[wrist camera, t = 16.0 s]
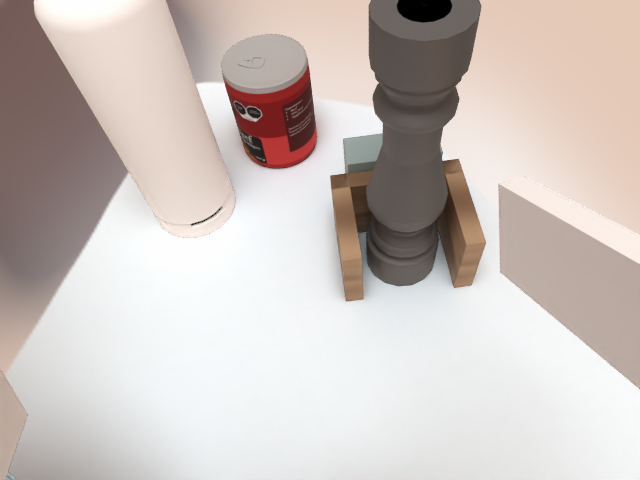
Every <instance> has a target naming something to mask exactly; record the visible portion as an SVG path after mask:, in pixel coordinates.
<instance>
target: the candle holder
mask: <svg viewBox="0 0 640 480" xmlns="http://www.w3.org/2000/svg"><path fill="white" fill-rule="evenodd" d="M480 11H481V4H480V1H479V0H371V2H370V4H369V59H370V65H371V69H372V70H373V71H374V72H375V78H376V80H377V81H378V82H379V84H378V85H377V87H376V89H375V92H374V94H373V104H374V110H375V114H376V115H377V116H378V117H379V119H380V120H381V121H382V122H383V141H382V146H381V149H380V152H379V155H378V158H377V160H376V163H375V166H374V169H373V171H372V174H371V177H370V179H369V182H368V185H367V188H366V195H367V202H368V207H369V209H370V211H371V212H372V213H373V215H372V218H371V221H370V223H369V228H368V231H367V233H366V254H367V262H368V266H369V267H370V269H371V271H372V272H373V274H374V275H375V276H376V277H378V278H379V279H381V280H382V281H383V282H385V283H388V284H392V285H396V286H405V285H413V284H415V283H417V282H419V281H421V280H423V279H424V278H425V277H426V276H427V275H428V274H429V273H430V271H431V270H432V267H433V264H434V260H435V255H436V251H437V246H438V241H439V238H438V233H437V231H438V228H437V224H436V219H437V218H438V217H439V215H440V214H441V213H442V212H443V210H444V207H445V203H446V199H447V195H448V191H447V186H446V180H445V175H444V169H443V162H442V156H441V150H440V143H441V136H442V130H443V127H444V126H445V125H446V124H447V123H448V122H449V121H450V120H451V119H452V118H453V117H454V115H455V113H456V109H457V106H458V103H459V96H458V93H457V89H456V87H455V86H456V85H457V84H458V83H459V82H460V81H461V78H462V76H463V75H464V74H465V73H466V72H467V71H468V67H469V64H470V61H471V57H472V52H473V47H474V42H475V37H476V31H477V27H478V21H479V16H480Z"/></svg>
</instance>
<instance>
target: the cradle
mask: <svg viewBox="0 0 640 480" xmlns="http://www.w3.org/2000/svg"><path fill="white" fill-rule="evenodd" d="M442 162H443V169H444V175H445V180H446V186H447V191H448V195H447V199H446V203H445V207H444V210H443V212H442V213H441V214H440V215H439V217H438V218H437V219H436V223H437V226H438V230H439V234H440V237H441V241H442V245H443V248H444V252H445V256H446V260H447V263H448V267H449V271H450V274H451V278H452V282H453V285H454V288H455V287H463V286H471V285H472V282H473V279H474V276H475V273H476V270H477V267H478V264H479V262H480V259H481V256H482V253H483V250H484V247H485V244H486V241H485V238H484V235H483V232H482V228H481V225H480V222H479V219H478V216H477V213H476V210H475V207H474V204H473V201H472V198H471V195H470V192H469V189H468V186H467V183H466V179H465V176H464V173H463V170H462V167H461V164H460V161H459V159H455V160H447V161H442ZM372 171H373V170H370V171H362V172H355V173H347V174H339V175H332V176H330V178H331V188H332V198H333V208H334V217H335V226H336V233H337V240H338V247H339V254H340V261H341V269H342V276H343V283H344V290H345V297H346V301H353V300H361V299H363V277H362V256H361V250H360V244H359V238H358V232H366V231H368V228H369V223H370V221H371V218H372V215H373V213H372V212H371V211H370V209H369V207H368V202H367V195H366V188H367V185H368V182H369V179H370V177H371V174H372Z"/></svg>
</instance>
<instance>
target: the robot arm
mask: <svg viewBox="0 0 640 480" xmlns="http://www.w3.org/2000/svg"><path fill="white" fill-rule="evenodd" d="M498 185H499V238H500V272H501V273H502V274H503V275H504V276H505V277H506V278H508V279H509V280H510V281H511V282H512V283H514V284H515V285H516V286H517V287H518V288H520V289H521V290H522V291H523V292H524V293H526V294H527V295H528V296H529V297H530V298H532V299H533V300H534V301H535V302H536V303H538V304H539V305H540V306H541V307H542V308H543V309H545V310H546V311H547V312H548V313H549V314H551V315H552V316H553V317H554V318H555V319H557V320H558V321H559V322H560V323H561V324H563V325H564V326H565V327H566V328H567V329H569V330H570V331H571V332H572V333H573V334H575V335H576V336H577V337H578V338H579V339H580V340H582V341H583V342H584V343H585V344H586V345H588V346H589V347H590V348H591V349H592V350H594V351H595V352H596V353H597V354H598V355H600V356H601V357H602V358H603V359H604V360H606V361H607V362H608V363H609V364H610V365H611V366H613V367H614V368H615V369H616V370H617V371H619V372H620V373H621V374H622V375H623V376H625V377H626V378H627V379H628V380H629V381H631V382H632V383H633V384H634V385H635V386H637V387H638V388H639V389H640V235H638V234H637V233H635V232H633V231H631V230H629V229H627V228H625V227H623V226H621V225H619V224H617V223H615V222H613V221H611V220H609V219H607V218H605V217H603V216H601V215H599V214H597V213H595V212H594V211H592V210H590V209H588V208H585V207H584V206H582V205H580V204H578V203H576V202H574V201H572V200H570V199H568V198H566V197H564V196H562V195H560V194H558V193H556V192H554V191H552V190H550V189H548V188H546V187H544V186H542V185H540V184H538V183H536V182H534V181H532V180H530V179H528V178H526V177H521V178H517V179H514V180H510V181H507V182H503V183H499V184H498ZM27 416H28V414H27V413H26V411H25V409H24V407H23V406H22V404H21V402H20V401H19V399H18V397H17V396H16V394H15V392H14V391H13V389H12V387H11V386H10V384H9V382H8V380H7V379H6V377H5V375H4V374H3V372H2V370H1V369H0V480H17V479H16V478H15V477H14V476H13V475H11V474H10V473H9V472H8V470H9V467H10V464H11V462H12V459H13V456H14V453H15V450H16V447H17V445H18V442H19V439H20V436H21V433H22V430H23V427H24V425H25V422H26V419H27Z"/></svg>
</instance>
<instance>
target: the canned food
mask: <svg viewBox="0 0 640 480" xmlns="http://www.w3.org/2000/svg"><path fill="white" fill-rule="evenodd" d="M221 69H222V75H223V79H224V82H225V87H226V90H227V93H228V96H229V100H230V103H231V106H232V110H233V113H234V116H235V119H236V123H237V126H238V129H239V133H240V136H241V139H242V143H243V146H244V148H245V150H246V152H247V154H248V155H249V156H250V157H251V158H252V159H253V160H254V161H255V162H257V163H258V164H260V165H262V166H266V167H270V168H284V167H289V166H293V165H295V164H298V163H299V162H301V161H303V160H304V159H306V158H307V157H308V156H309V155H310V153H311V152H312V150H313V149H314V146H315V142H316V138H317V132H316V123H315V115H314V106H313V98H312V89H311V80H310V72H309V66H308V59H307V55H306V52H305V49H304V48H303V46H302V45H301V44H300V43H299V42H298V41H296V40H294V39H292V38H290V37H287V36H283V35H277V34H265V35H258V36H253V37H250V38H247V39H244V40H242V41H240V42H238V43H236V44H235V45H234V46H232V47H231V48H230V49H229V50H228V51H227V52H226V53H225V55H224V57H223V59H222V62H221Z"/></svg>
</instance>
